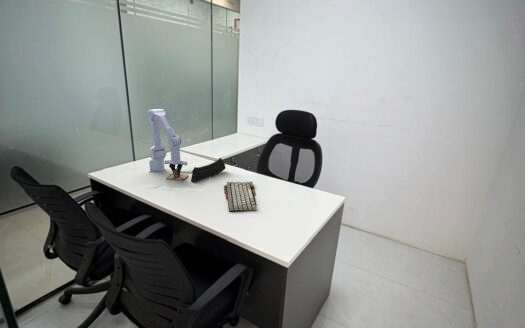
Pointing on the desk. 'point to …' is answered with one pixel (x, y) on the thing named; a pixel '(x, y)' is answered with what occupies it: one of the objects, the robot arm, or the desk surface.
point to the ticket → (186, 170)
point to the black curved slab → (207, 170)
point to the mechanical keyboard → (240, 196)
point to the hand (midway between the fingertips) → (176, 174)
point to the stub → (177, 176)
